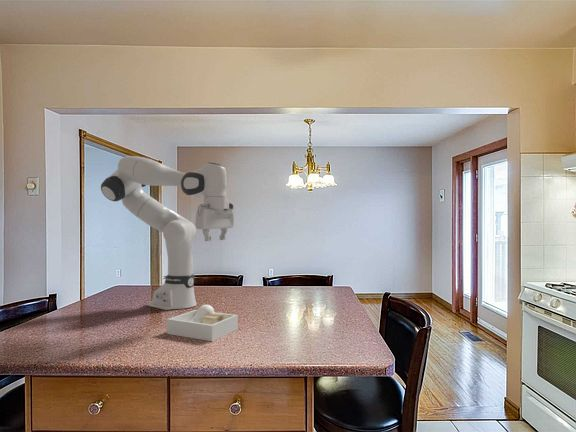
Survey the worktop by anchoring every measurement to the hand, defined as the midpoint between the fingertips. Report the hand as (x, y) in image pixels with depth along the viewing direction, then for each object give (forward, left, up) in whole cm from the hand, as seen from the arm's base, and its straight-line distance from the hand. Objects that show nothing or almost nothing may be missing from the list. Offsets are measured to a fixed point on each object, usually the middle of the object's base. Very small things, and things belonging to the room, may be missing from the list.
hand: (215, 240), depth 146 cm
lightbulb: (0, -16, -29) cm, 33 cm away
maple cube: (+8, -12, -30) cm, 34 cm away
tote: (+4, -12, -31) cm, 34 cm away
